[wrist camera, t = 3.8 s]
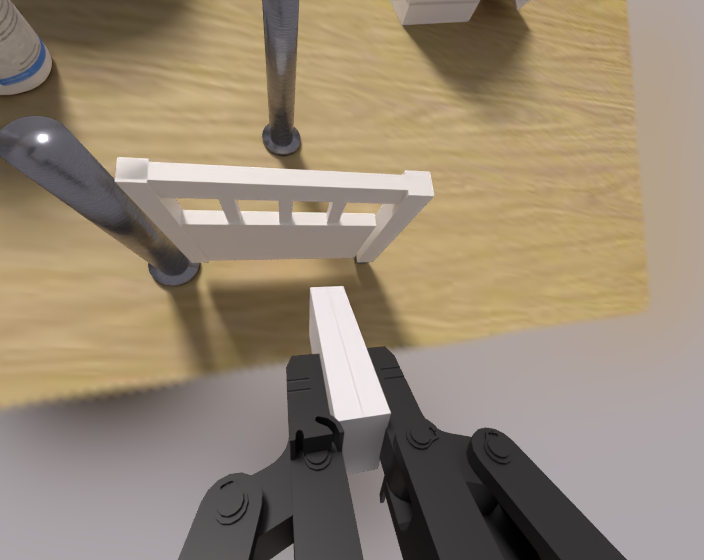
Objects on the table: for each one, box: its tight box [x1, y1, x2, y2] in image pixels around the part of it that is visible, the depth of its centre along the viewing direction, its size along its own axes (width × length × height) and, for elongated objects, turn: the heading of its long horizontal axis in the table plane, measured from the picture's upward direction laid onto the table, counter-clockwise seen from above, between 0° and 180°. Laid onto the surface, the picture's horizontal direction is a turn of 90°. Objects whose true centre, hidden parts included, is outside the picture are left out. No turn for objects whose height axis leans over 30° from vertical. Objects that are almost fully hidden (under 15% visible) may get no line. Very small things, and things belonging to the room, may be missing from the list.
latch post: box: [262, 0, 300, 156], centre depth 30 cm, size 5×5×21 cm
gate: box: [115, 157, 434, 264], centre depth 27 cm, size 20×2×18 cm, turn 95°
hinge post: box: [0, 116, 200, 286], centre depth 24 cm, size 5×5×20 cm
